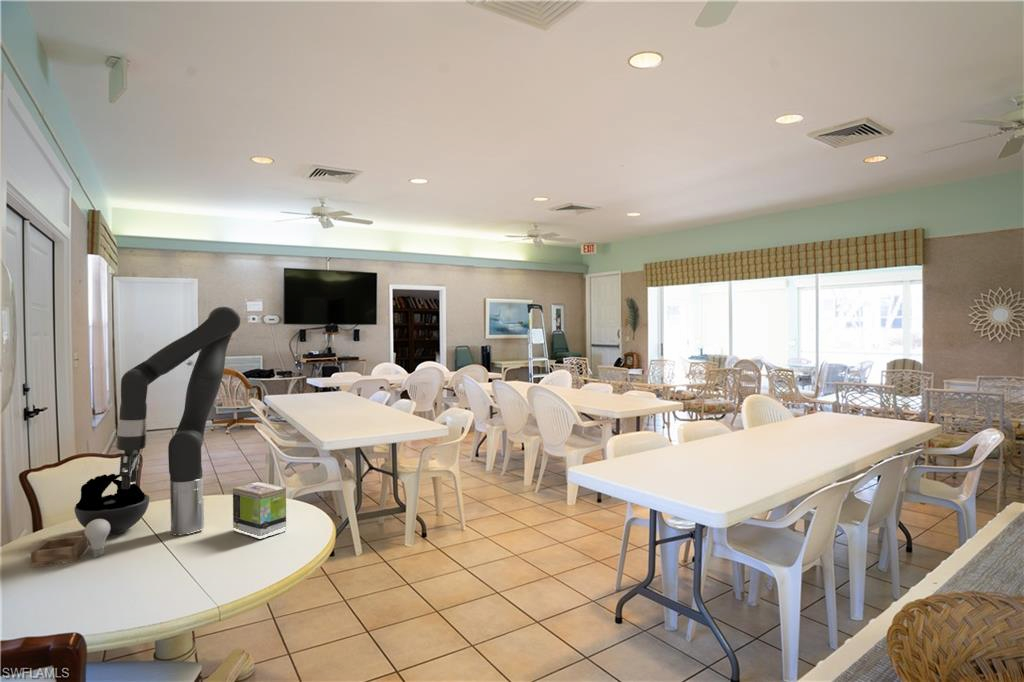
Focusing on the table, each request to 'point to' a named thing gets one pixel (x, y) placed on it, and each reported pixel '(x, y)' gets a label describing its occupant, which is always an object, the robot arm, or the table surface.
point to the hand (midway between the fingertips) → (128, 485)
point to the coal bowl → (111, 504)
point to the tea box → (259, 508)
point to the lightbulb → (97, 535)
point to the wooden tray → (59, 550)
